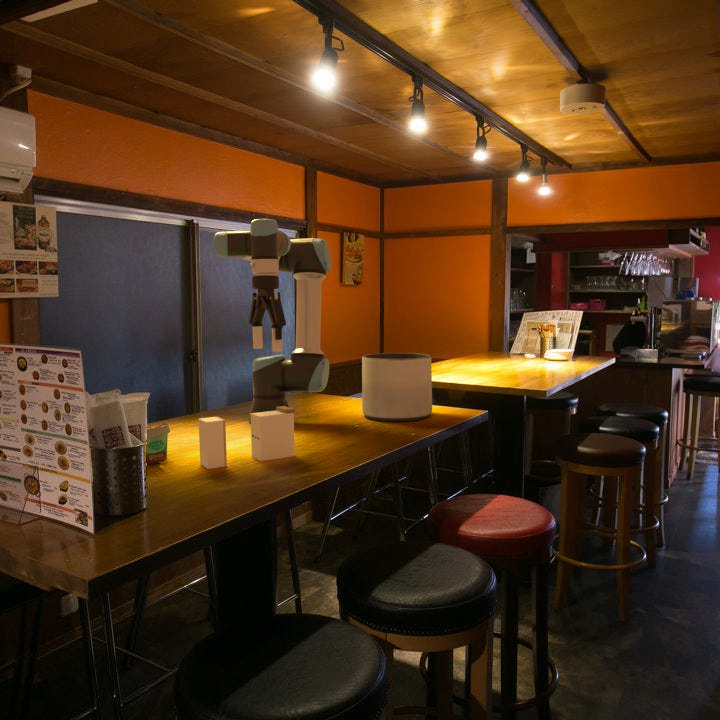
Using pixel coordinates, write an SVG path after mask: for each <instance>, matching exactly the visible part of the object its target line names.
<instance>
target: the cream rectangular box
mask: <svg viewBox="0 0 720 720" xmlns="http://www.w3.org/2000/svg"><path fill="white" fill-rule="evenodd" d="M294 409H295V408H293V407H290V406H289V407H285V406H280V407H276V411H268V412H259V413H251V423H250V435H251V436H250V439H251V441H250V442H251V457H252V458H254V459H255V460H258V461H260V462H263V461H264V462H265V461H269V460H270V461H271V460H277V459H283V458H284V459H285V458H289V457H295V456H296V446H295V414H294V412H295V410H294Z"/></svg>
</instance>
